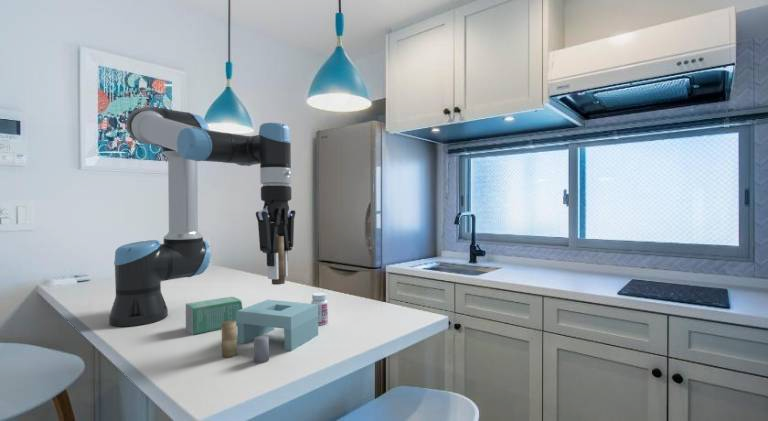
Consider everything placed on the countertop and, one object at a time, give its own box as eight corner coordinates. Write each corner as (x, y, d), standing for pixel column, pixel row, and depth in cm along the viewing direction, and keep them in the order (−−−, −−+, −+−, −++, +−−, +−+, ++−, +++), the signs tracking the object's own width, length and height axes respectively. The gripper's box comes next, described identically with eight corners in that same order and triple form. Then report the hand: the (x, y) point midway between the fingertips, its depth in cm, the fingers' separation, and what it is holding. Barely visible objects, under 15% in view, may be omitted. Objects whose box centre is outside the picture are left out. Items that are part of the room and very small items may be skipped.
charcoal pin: (250, 362, 87) (250, 339, 87) (260, 356, 90) (260, 334, 90) (262, 364, 86) (262, 341, 86) (272, 358, 89) (271, 336, 88)
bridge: (237, 342, 99) (236, 310, 99) (268, 328, 110) (267, 299, 110) (291, 350, 93) (290, 316, 93) (318, 334, 104) (317, 304, 104)
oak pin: (218, 356, 90) (218, 323, 90) (229, 351, 93) (228, 319, 93) (230, 358, 89) (229, 325, 89) (240, 353, 92) (239, 321, 92)
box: (243, 324, 114) (242, 298, 114) (193, 336, 105) (192, 308, 105) (233, 319, 119) (233, 294, 119) (185, 329, 110) (184, 303, 110)
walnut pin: (269, 284, 100) (268, 236, 100) (276, 281, 103) (276, 235, 103) (279, 285, 99) (278, 237, 99) (287, 282, 102) (286, 236, 102)
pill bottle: (324, 326, 112) (324, 296, 111) (308, 325, 113) (308, 295, 112) (330, 321, 116) (329, 292, 116) (314, 320, 117) (314, 291, 117)
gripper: (267, 183, 92) (269, 284, 92) (306, 186, 107) (308, 272, 107) (241, 184, 95) (244, 282, 95) (283, 186, 110) (284, 271, 110)
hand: (278, 277), depth 101 cm, fingers closed on walnut pin, 3 cm apart
